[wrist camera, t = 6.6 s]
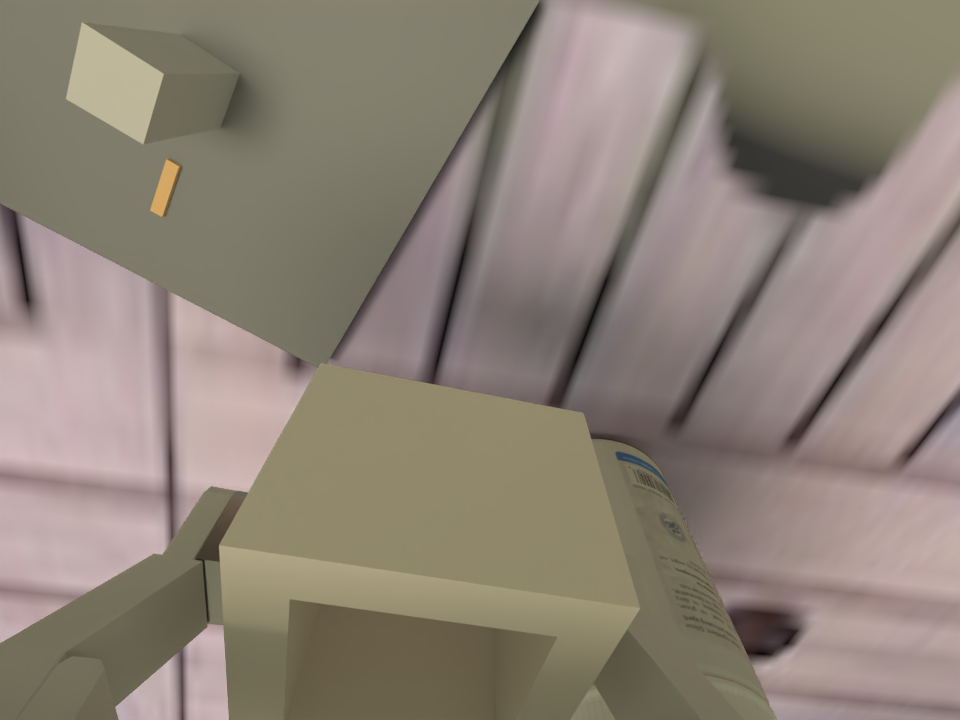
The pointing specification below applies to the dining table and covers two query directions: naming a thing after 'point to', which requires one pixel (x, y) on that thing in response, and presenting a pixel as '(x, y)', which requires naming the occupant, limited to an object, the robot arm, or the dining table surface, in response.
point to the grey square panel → (243, 140)
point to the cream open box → (422, 560)
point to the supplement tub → (673, 582)
